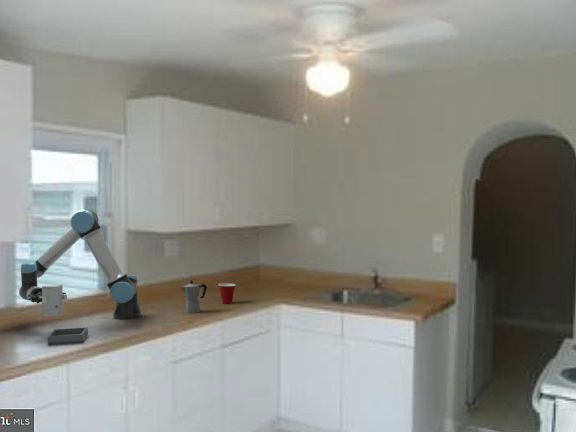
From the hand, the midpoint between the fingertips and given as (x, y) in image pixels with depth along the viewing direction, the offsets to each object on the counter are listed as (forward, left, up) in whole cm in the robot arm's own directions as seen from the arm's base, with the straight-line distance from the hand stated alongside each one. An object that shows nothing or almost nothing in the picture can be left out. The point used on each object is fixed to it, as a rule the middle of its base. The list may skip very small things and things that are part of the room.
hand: (56, 299), depth 280 cm
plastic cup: (-88, -59, -18) cm, 108 cm away
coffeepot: (-67, -39, -18) cm, 80 cm away
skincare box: (+2, -4, -9) cm, 10 cm away
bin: (-7, +12, -18) cm, 22 cm away
